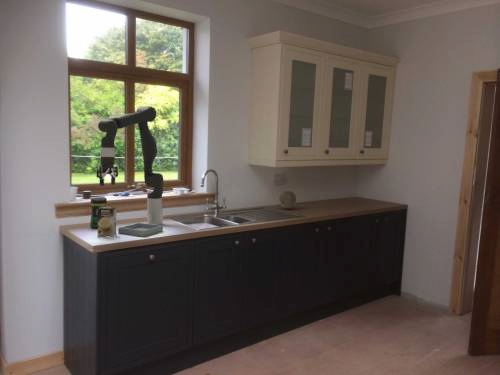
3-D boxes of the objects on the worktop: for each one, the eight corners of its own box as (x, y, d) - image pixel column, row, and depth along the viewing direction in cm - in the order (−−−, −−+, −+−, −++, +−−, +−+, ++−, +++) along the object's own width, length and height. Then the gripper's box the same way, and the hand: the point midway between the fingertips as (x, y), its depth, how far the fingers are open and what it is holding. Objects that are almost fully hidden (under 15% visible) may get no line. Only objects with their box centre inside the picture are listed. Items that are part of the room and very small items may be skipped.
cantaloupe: (298, 210, 354) (299, 192, 352) (281, 210, 351) (282, 192, 349) (292, 207, 367) (293, 190, 366) (277, 207, 364) (277, 190, 363)
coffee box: (96, 236, 239) (96, 208, 238) (100, 234, 246) (100, 206, 244) (113, 237, 240) (113, 208, 238) (116, 234, 246) (116, 206, 244)
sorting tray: (138, 228, 265) (138, 222, 264) (162, 231, 257) (162, 225, 257) (118, 233, 248) (118, 227, 248) (143, 237, 241) (143, 231, 241)
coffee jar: (92, 229, 258) (91, 198, 257) (89, 226, 265) (88, 196, 263) (108, 227, 264) (108, 197, 262) (105, 225, 270) (105, 196, 268)
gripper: (111, 155, 247) (111, 183, 248) (92, 155, 234) (92, 185, 235) (121, 156, 243) (121, 184, 245) (103, 156, 231) (103, 186, 232)
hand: (107, 185), depth 240 cm, fingers open, 8 cm apart
